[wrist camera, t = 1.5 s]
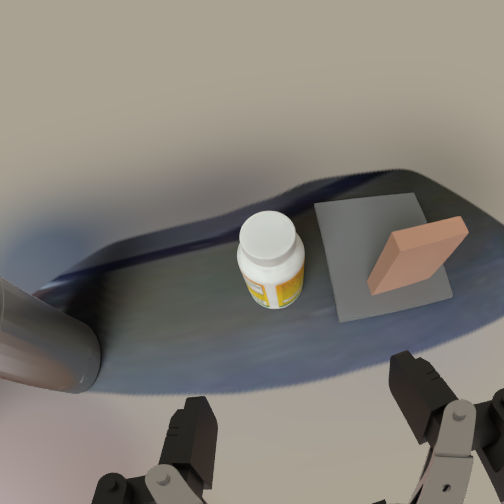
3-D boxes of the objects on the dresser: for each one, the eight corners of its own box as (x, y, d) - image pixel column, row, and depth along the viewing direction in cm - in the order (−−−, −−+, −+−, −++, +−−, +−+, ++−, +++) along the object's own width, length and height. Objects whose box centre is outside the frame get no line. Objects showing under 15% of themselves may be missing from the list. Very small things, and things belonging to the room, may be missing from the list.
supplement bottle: (247, 309, 27) (224, 267, 19) (251, 260, 30) (233, 203, 22) (303, 310, 26) (305, 268, 18) (303, 260, 29) (304, 202, 21)
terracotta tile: (429, 278, 25) (469, 232, 17) (371, 295, 25) (400, 251, 18) (423, 264, 26) (459, 215, 18) (366, 280, 26) (391, 231, 18)
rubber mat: (338, 322, 25) (339, 321, 25) (314, 206, 32) (314, 203, 31) (450, 298, 24) (453, 296, 24) (412, 195, 31) (413, 192, 30)
